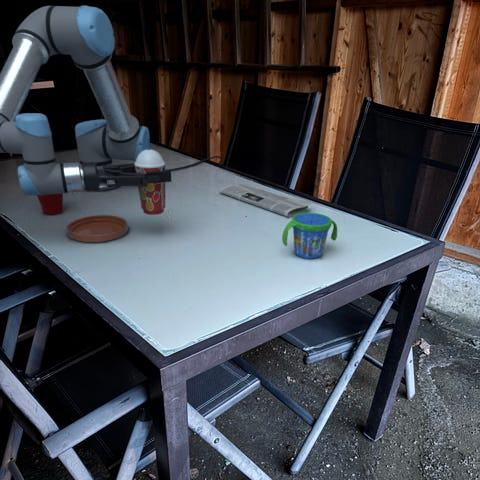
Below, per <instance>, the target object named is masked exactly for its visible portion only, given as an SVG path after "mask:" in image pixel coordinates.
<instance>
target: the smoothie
mask: <svg viewBox="0 0 480 480" xmlns="http://www.w3.org/2000/svg"><path fill="white" fill-rule="evenodd" d="M150 141H151V140H150ZM150 141H149V139H147V147H148V149H146V150H143V151H142V152H140V153H139V155H138V156H137V159H136V161H134V162H133V163H134V165H135V169H136V173H142V174H144V173H145V174H146V172H160V171H165V170H166V161H164V158H163V156H162V154H161V153H159V152H158V151H157V150H155V149H152V148H151V144H150ZM147 185H148V186H147V187H145V186H137V187H138V189H137V190H138V195H139V201H140V207H141V208H140V209H141V210H142V211H143V213H144V214H146V215H149V216H156V215H161V214H163V213H164V212H165V208H166V182H158V183H147Z"/></svg>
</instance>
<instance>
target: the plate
mask: <svg viewBox="0 0 480 480" xmlns="http://www.w3.org/2000/svg"><path fill="white" fill-rule="evenodd" d="M66 231H67V236H68V237H69V238H70V239H71V240H75V241H78V242H83V243H102V242H107V241H113V240H116V239H119V238H121V237H123V236H124V235H125V234H127V232H128V231H129V227H128V222H127V220H126V219H124V218H123V217H120V216H117V215H111V214H109V215H108V214H106V215H105V214H96V215H89V216H83V217H80V218H76V219H74V220H72V221H70V222H69V223H68V224H67V225H66Z"/></svg>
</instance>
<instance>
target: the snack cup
mask: <svg viewBox="0 0 480 480" xmlns="http://www.w3.org/2000/svg"><path fill="white" fill-rule="evenodd" d="M332 226H333V229H332V232H331V235H330V239H331V240H332V241H336V240H337V238H338V226H337V223H336V222H335V221H334V220H333V219H332V218H331V217H329V216H327V215H325V214H323V213H318V212H317V213H316V212H303V213H299V214H296V215H294V216H291V220H290V221H289V222H288V223H287V224H285V227H284V229H283V231H282V237H281V241H282V244H283V246H285V247H287V246H288V237H289V236H288V235H289V230H291V228H292V230H293V249H294V253H295V255H296V256H299V257H300V258H304V259H306V260H309V259H316V258H320V257H321V255H322V254H323V252H324V248H325V246H326V241H327V238H328V233H329V230H330V229H331V227H332Z"/></svg>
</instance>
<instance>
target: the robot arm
mask: <svg viewBox="0 0 480 480" xmlns="http://www.w3.org/2000/svg"><path fill="white" fill-rule="evenodd" d="M115 41H116V40H115V37H114V29H113V26H112V23H111V21H110V18H109V17H108V15H107V14H106V13H105V12H104V11H103V10H102V9H100V8H98V7H95V6H89V5H81V6H66V5H64V6H63V5H45V6H42V7H40V8H38V9H35V10H34V11H33V12H31V13H30V14H29V15H28V16H27V17H26V18H25V19H24V20H23V21H22V22H21V23H20V24H19V26H18V28H17V29H16V30H15V32H14V34H13V37H12V39H11V43H12V46H13V47H12V49H11V51H10V53H9V55H8V57H7V59H6V61H5V63H4V65H3V68H2V70H1V71H0V153H1V154H15V155H17V154H18V155H22V158H23V163H24V164H23V165H22V164H21V165H19V166H18V167H17V177H18V182H19V183H18V184H19V186H20V190H21V192H22V193H23V194H24V195H26V196H37V195H48V194H60V193H63V194H70V193H71V194H72V195H76V194H77V193H83V192H84V191H86V192H87V193H89V192H90V193H91V192H104V191H109V190H114V189H116V188H118V187H138V186H145V187H147V186H148V185H147V183H158V182H165V183H171V182H172V171H177V170H181V169H186V168H190V167H194V166H195V165H198V164H201V163H203V162H205V161H206V162H207V161H209V160H213V159H216V158H218V159H219V160H222V157H221V156H219V155H213V156H211V157H208V158H205V159H202V160H199V161H197V162H193V163H191V164H188V165H184V166H180V167H174V168H168V169H165V171H160V172H146V174H145V173H144V174H142V173H136V169H135V165H134V163H135V162H136V159H137V156H138V155H139V153H140V152H142V151H143V150H146V149H148V147H147V139H149V141H151V139H150V138H151V137H150V136H151V135H150V130H149V128H148V127H147V126H145V125H142V126H141V125H140V123H139V120H138V119H137V118H136V117H135V116H134V115H132V114H131V111H130V108H129V106H128V103H127V100H126V98H125V95H124V93H123V90H122V87H121V85H120V82H119V80H118V77H117V74H116V72H115V69H114V66H113V64H112V61H111V59H112V57H113V52H114V51H115V45H116V44H115V43H116V42H115ZM53 55H70V56H71V59H72V61H73V64H74V65H75V66H76V67H77V68H78V69H81V70H83V72H84V73H83V74H84V75H85V77H86V80H87V81H88V84H89V86H90V89H91V90H92V93H93V95H94V97H95V99H96V102H97V104H98V106H99V108H100V110H101V112H102V115H103V117H104V119H95V120H94V119H92V120H86V121H82V122H79V123H77V124H76V125H75V127H74V131H75V139H76V140H75V141H76V147H77V152H78V158H79V162H65V163H64V162H63V163H57V160H56V155H55V150H54V144H53V136H52V135H53V134H52V131H51V127H50V123H49V120H48V117H47V116H46V115H45V114H43V113H39V112H38V113H37V112H36V113H35V112H31V113H30V112H26V113H20V112H21V111H22V108H23V106H24V103H25V101H26V99H27V97H28V95H29V92H30V90H31V88H32V85H33V84H34V81H35V79H36V77H37V75H38V72H39V71H40V68H41V66H42V65H45V64H47V62H48V61H49V58H50V57H51V56H53ZM113 160H122V161H133V162H132V163H122V164H121V163H120V164H113Z"/></svg>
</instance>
